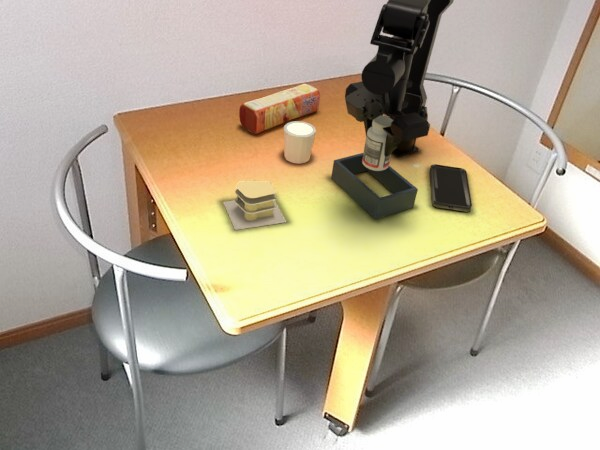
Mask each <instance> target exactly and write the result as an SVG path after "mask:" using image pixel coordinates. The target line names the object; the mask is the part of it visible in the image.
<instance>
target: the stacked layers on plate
mask: <svg viewBox="0 0 600 450" xmlns="http://www.w3.org/2000/svg"><path fill="white" fill-rule="evenodd" d="M234 186H235V188H236V190H234V194H235V195H236V198H235V199H234V200H227V201H223V202H222V203H223V205H224V208H225V209H226V212H227V215H228V216H229V220H230V222H231V224H232V227H233V228H234V230H235V231H238V230H243V229H251V228H257V227H258V228H259V227H264V226H270V225H277V224H285V223H287V220H286V218H285V216H284V215H283V214H284V213H282V210H281V209H280V207H279V205H278V203H277V202H276V201H277V199H278V198H277V196H276V194H277V193H278V191H277V190H276V188H275V186H274V184H273V182H272V181H271V180H251V179H250V180H249V179H246V180H239V181H238V182H237V183H236V184H235V185H234Z"/></svg>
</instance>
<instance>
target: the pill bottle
mask: <svg viewBox="0 0 600 450" xmlns="http://www.w3.org/2000/svg"><path fill="white" fill-rule="evenodd" d="M392 121H393V120H392V119H391V118H388V117H386V116H385V115H380V116H379V117H377V118H375V119H373V122H372V127H370V128H369V129H368V131H367V136H366V135H365V142H364V148H363V152H362V153H363V159H362V163H363V165H364V166H365V167H366V168H368V169H371V170H374V171H382V170H385V169H387V168H388V167H389V166H390V164H391V157H392V155H393V153H391V155H390V156H387V157H386V156H384V151H385V143H386V136H387V133H386V132H385V131H384V130H383V128H385V127H389V126H391V123H392Z"/></svg>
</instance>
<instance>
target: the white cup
mask: <svg viewBox="0 0 600 450" xmlns="http://www.w3.org/2000/svg"><path fill="white" fill-rule="evenodd" d="M316 132H317V129H316V127H315V126H314V125H313V124H311V123H309V122H306V121H301V120H299V121H298V120H295V121H288V122H286V123H285V125H284V126H283V150H284V154H283V156H284V159H285V160H286V161H288V162H289V163H293V164H298V165H299V164H300V165H301V164H305V163H307V162H309V161H310V159H311V155H312V152H313V151H312V150H313V148H314V147H313V146H314V141H315V137H316Z"/></svg>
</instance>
